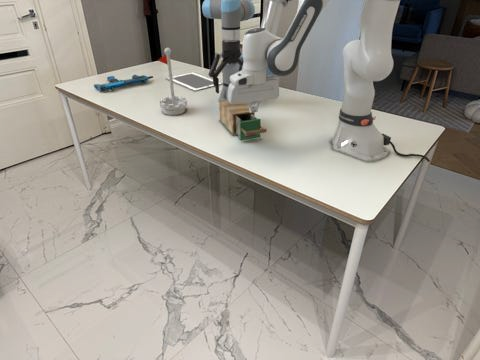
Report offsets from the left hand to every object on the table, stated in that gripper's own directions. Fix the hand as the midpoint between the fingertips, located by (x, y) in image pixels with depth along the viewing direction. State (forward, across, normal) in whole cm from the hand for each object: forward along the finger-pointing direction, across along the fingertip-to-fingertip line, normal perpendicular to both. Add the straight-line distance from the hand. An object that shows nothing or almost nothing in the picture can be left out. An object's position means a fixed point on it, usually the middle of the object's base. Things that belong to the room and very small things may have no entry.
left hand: (231, 90), depth 151 cm
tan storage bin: (+15, 0, +6) cm, 16 cm away
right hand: (+1, 0, +24) cm, 24 cm away
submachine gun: (+15, +42, -79) cm, 91 cm away
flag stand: (+15, +22, -23) cm, 35 cm away
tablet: (+15, +1, -67) cm, 69 cm away
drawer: (+14, 0, +17) cm, 22 cm away
